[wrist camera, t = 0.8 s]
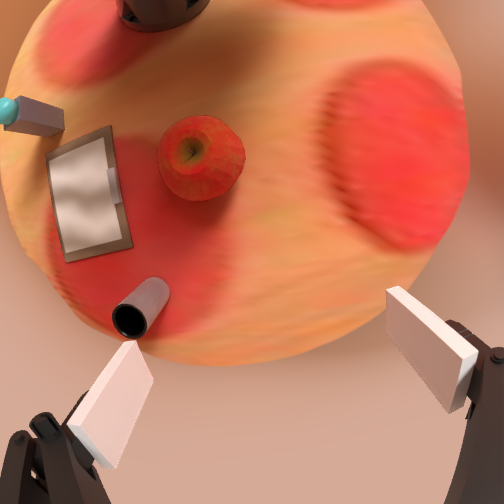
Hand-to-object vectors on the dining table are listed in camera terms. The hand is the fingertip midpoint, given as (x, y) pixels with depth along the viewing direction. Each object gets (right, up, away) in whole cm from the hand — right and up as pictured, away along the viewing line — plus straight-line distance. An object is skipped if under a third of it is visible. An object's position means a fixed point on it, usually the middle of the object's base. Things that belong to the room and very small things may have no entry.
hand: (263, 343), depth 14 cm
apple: (-7, +16, +22) cm, 29 cm away
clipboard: (-25, +13, +23) cm, 36 cm away
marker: (-32, +25, +20) cm, 45 cm away
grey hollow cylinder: (-14, -1, +26) cm, 30 cm away
